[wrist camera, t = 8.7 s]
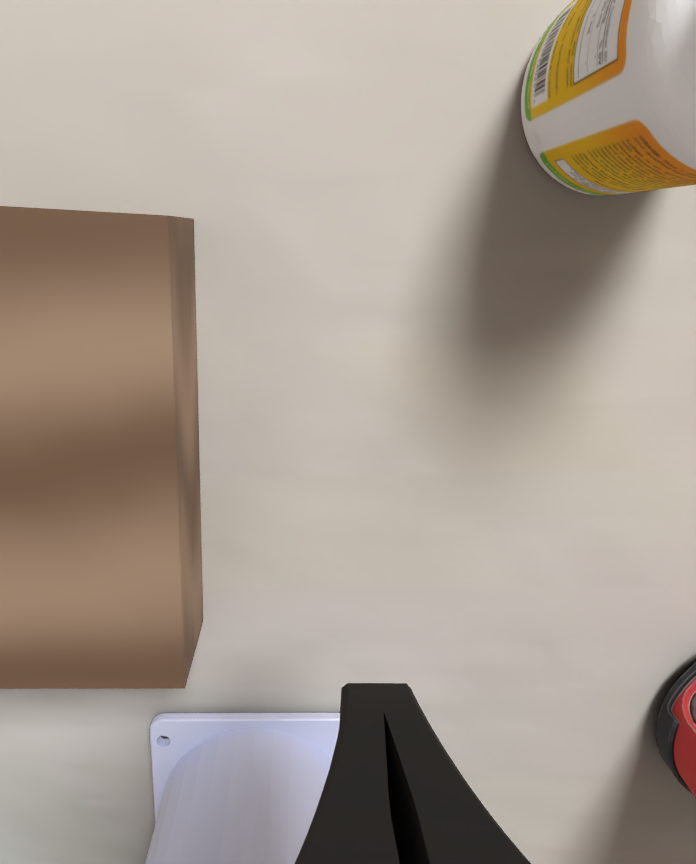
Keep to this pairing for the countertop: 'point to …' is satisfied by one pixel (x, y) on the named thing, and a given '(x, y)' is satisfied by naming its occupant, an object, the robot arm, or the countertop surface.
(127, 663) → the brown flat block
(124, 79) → the countertop surface
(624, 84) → the supplement bottle
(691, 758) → the speaker
